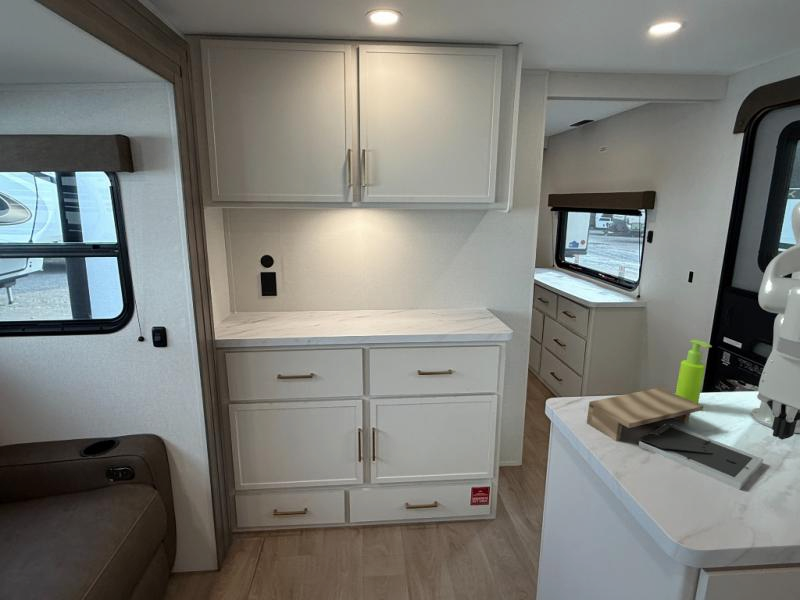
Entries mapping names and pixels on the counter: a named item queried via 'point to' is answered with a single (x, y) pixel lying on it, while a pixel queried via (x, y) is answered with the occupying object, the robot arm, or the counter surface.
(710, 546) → the counter surface
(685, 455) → the picture frame
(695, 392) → the soap dispenser
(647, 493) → the counter surface
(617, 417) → the walnut shelf
